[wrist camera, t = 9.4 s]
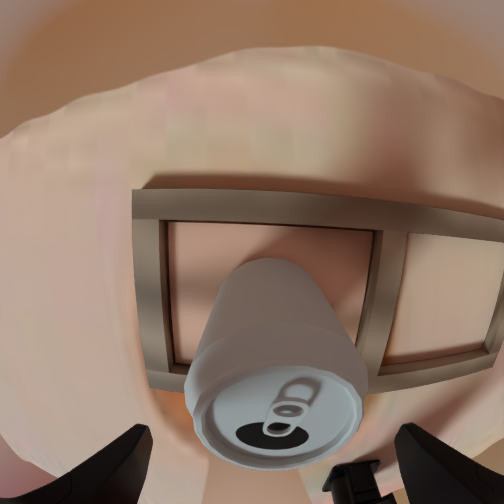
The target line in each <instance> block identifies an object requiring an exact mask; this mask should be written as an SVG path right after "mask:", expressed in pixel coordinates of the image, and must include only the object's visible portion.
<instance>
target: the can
mask: <svg viewBox="0 0 504 504" xmlns="http://www.w3.org/2000/svg"><path fill="white" fill-rule="evenodd" d="M184 391H185V400H186V407H187V409H188V410H189V412H190V414H191V416H192V417H193V421H194V429H195V432H196V434H197V435H198V437H199V438H200V440H201V441H202V443H203V445H204V446H205V447H207V448H208V449H209V450H210V451H212V452H213V453H214V454H215V455H217V456H218V457H219V458H221V459H223V460H225V461H228V462H230V463H232V464H235V465H237V466H240V467H245V468H250V469H255V470H261V471H284V470H290V469H295V468H300V467H305V466H308V465H311V464H313V463H316V462H318V461H321V460H323V459H326V458H327V457H329V456H330V455H332V454H333V453H335V452H336V451H338V450H339V449H341V448H342V447H343V446H345V444H346V443H347V442H348V441H349V440H350V439H351V438H352V437H353V435H354V434H355V433H356V432H357V431H358V428H359V426H360V424H361V421H362V419H363V416H364V400H365V397H366V394H367V391H368V373H367V366H366V365H365V363H364V361H363V359H362V357H361V356H360V354H359V352H358V350H357V349H356V347H355V345H354V343H353V342H352V340H351V338H350V337H349V335H348V333H347V332H346V330H345V328H344V327H343V325H342V323H341V322H340V320H339V319H338V317H337V315H336V314H335V312H334V310H333V309H332V307H331V306H330V304H329V302H328V301H327V299H326V297H325V296H324V294H323V293H322V291H321V290H320V288H319V286H318V285H317V283H316V282H315V280H314V278H313V277H312V275H310V274H309V273H308V272H307V271H306V270H304V269H303V268H302V267H301V266H299V265H298V264H295V263H293V262H290V261H287V260H285V259H280V258H261V259H257V260H254V261H250V262H246V263H245V264H243V265H242V266H240V267H239V268H237V269H235V270H234V271H232V272H231V273H230V275H229V276H228V277H227V278H226V280H225V281H224V282H223V283H222V284H221V287H220V289H219V292H218V295H217V297H216V300H215V302H214V305H213V308H212V310H211V313H210V316H209V318H208V321H207V324H206V326H205V329H204V331H203V334H202V337H201V339H200V342H199V345H198V348H197V350H196V353H195V356H194V358H193V361H192V364H191V367H190V369H189V372H188V375H187V378H186V381H185V384H184Z"/></svg>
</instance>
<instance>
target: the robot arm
mask: <svg viewBox="0 0 504 504" xmlns="http://www.w3.org/2000/svg"><path fill="white" fill-rule="evenodd" d="M394 443H395V448H396V453H397V458H398V463H399V468H400V473H401V477H402V480H403V483H404V486H405V489H406V492H407V496H408V499H409V503H410V504H504V475H501V474H498V473H496V472H494V471H492V470H490V469H488V468H486V467H484V466H482V465H481V464H479V463H477V462H475V461H473V460H472V459H470V458H468V457H467V456H465V455H463V454H462V453H460V452H458V451H457V450H455V449H454V448H452V447H450V446H449V445H447V444H445V443H444V442H442V441H441V440H439V439H438V438H436V437H434V436H433V435H431V434H430V433H428V432H427V431H425V430H423V429H422V428H420V427H419V426H417V425H416V424H414V423H406V424H403V425H402V426H401V427H400V429H399V431H398V433H397V435H396V437H395V440H394ZM152 446H153V439H152V436H151V432H150V429H149V427H148V426H147V425H143V424H135V425H134V426H133V427H131V428H130V429H129V430H127V431H126V432H125V433H123V434H122V435H121V436H119V437H118V438H117V439H115V440H114V441H112V442H111V443H110V444H108V445H107V446H106V447H104V448H103V449H101V450H100V451H98V452H97V453H96V454H94V455H93V456H91V457H90V458H88V459H87V460H85V461H84V462H83V463H81V464H80V465H78V466H77V467H75V468H74V469H72V470H71V471H70V472H67V473H66V474H64V475H63V476H61V477H59V478H58V479H56V480H54V481H53V482H51V483H49V484H47V485H44V486H42V487H40V488H38V489H35V490H33V491H31V492H28V493H26V494H24V495H21V496H18V497H14V498H0V504H137V502H138V499H139V496H140V493H141V490H142V488H143V485H144V482H145V479H146V475H147V470H148V465H149V460H150V455H151V450H152ZM380 464H381V462H380V460H374V461H369V462H364V463H358V464H352V465H346V466H339V467H334V468H332V470H331V472H330V474H329V476H328V478H327V480H326V482H325V484H324V486H323V488H322V491H323V492H328V491H331V492H332V497H333V502H334V504H397V503H396V501H395V498H394V495H393V493H390V494H388V495H386V496H384V497H382V498H381V495H380V492H379V489H378V486H377V483H376V480H375V477H374V473H375V471H376V470H377V468H378V467H379V465H380Z"/></svg>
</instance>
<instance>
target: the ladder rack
mask: <svg viewBox="0 0 504 504" xmlns="http://www.w3.org/2000/svg"><path fill="white" fill-rule="evenodd" d="M166 220H205V221H235V222H259V223H280V224H299V225H317V226H332V227H347V228H361V229H374V230H375V236H374V245H373V253H372V261H371V269H370V276H369V282H368V289H367V295H366V300H365V306H364V311H363V317H362V322H361V327H360V331H359V336H358V341H357V345H356V349H357V350H358V352H359V354H360V356H361V357H362V359H363V361H364V363H365V365H366V366H367V373H368V391H367V394H375V393H382V392H389V391H396V390H402V389H408V388H413V387H418V386H423V385H428V384H433V383H437V382H441V381H445V380H450V379H453V378H457V377H461V376H465V375H468V374H472V373H475V372H478V371H481V370H485V369H488V368H491V367H493V365H494V363H495V360H496V358H497V355H498V353H499V350H500V348H501V345H502V342H503V340H504V274H503V279H502V283H501V288H500V292H499V296H498V300H497V303H496V307H495V311H494V314H493V318H492V321H491V324H490V327H489V330H488V333H487V336H486V339H485V342H484V344H483V347H482V349H479V350H474V351H470V352H465V353H461V354H456V355H451V356H446V357H440V358H435V359H429V360H423V361H416V362H409V363H402V364H394V365H385V366H381V362H382V359H383V355H384V352H385V348H386V345H387V341H388V337H389V333H390V329H391V325H392V321H393V317H394V312H395V308H396V303H397V298H398V293H399V288H400V282H401V276H402V270H403V264H404V257H405V250H406V242H407V234H408V232H410V233H421V234H432V235H442V236H451V237H461V238H470V239H479V240H487V241H495V242H503V243H504V220H500V219H495V218H490V217H485V216H480V215H475V214H470V213H464V212H458V211H453V210H447V209H441V208H434V207H428V206H421V205H414V204H407V203H399V202H392V201H383V200H375V199H366V198H356V197H346V196H335V195H324V194H311V193H297V192H280V191H261V190H234V189H134V190H132V244H133V264H134V279H135V291H136V301H137V310H138V319H139V327H140V334H141V341H142V348H143V354H144V360H145V366H146V371H147V377H148V382H149V387H150V388H154V389H160V390H166V391H173V392H180V393H185V391H184V384H185V381H186V378H187V375H188V372H189V369H190V367H191V365H186V364H192V361H193V358H194V356H195V353H196V350H197V348H198V345H199V342H200V339H201V337H202V334H203V331H204V329H205V326H206V324H207V321H208V318H209V316H210V313H211V310H212V308H213V305H214V302H215V300H216V297H217V295H218V292H219V289H220V287H221V284H222V283H223V282H224V281H225V280H226V278H227V277H228V276H229V275H230V273H231V272H232V271H234V270H235V269H237V268H239V267H240V266H242V265H243V264H245V263H246V262H250V261H254V260H257V259H261V258H280V259H285V260H287V261H290V262H293V263H295V264H298V265H299V266H301V267H302V268H303V269H304V270H306V271H307V272H308V273H309V274H310V275H312V277H313V278H314V280H315V282H316V283H317V285H318V286H319V288H320V290H321V291H322V293H323V294H324V296H325V297H326V299H327V301H328V302H329V304H330V306H331V307H332V309H333V310H334V312H335V314H336V315H337V317H338V319H339V320H340V322H341V323H342V325H343V327H344V328H345V330H346V332H347V333H348V335H349V337H350V338H351V340H352V342H353V343H354V345H355V341H356V337H357V332H358V327H359V322H360V317H361V312H362V307H363V301H364V295H365V289H366V283H367V276H368V269H369V262H370V254H371V245H372V236H373V232H372V231H361V230H347V229H332V228H315V227H298V226H279V225H257V224H232V223H202V222H168V229H169V275H170V296H171V312H172V325H173V337H174V348H175V358H176V363H174V360H173V351H172V341H171V330H170V318H169V304H168V287H167V264H166ZM177 363H184V364H177ZM367 394H366V395H367Z"/></svg>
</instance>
